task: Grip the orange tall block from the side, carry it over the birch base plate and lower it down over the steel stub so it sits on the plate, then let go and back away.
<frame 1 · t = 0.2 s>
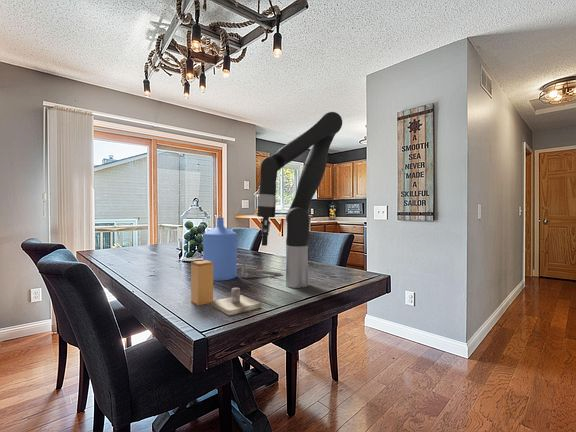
hand: (264, 244, 129), 18 cm above the table, tool pointing down, fingers open, 8 cm apart
water jug: (220, 277, 145), on the table
stub plate: (235, 306, 103), on the table
orange tall block: (202, 301, 108), on the table
caliper: (262, 277, 148), on the table
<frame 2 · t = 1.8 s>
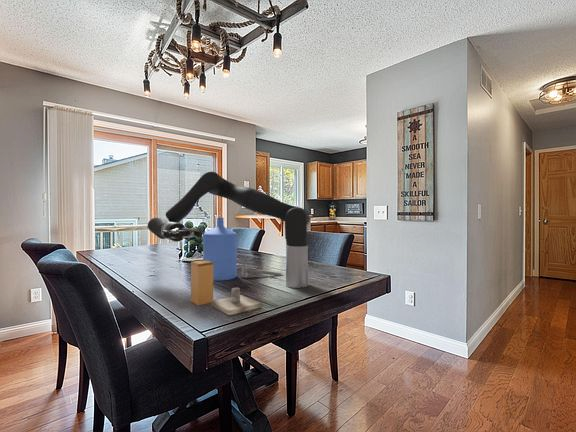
hand: (190, 235, 115), 23 cm above the table, tool horizontal, fingers open, 8 cm apart
nothing on the table moved.
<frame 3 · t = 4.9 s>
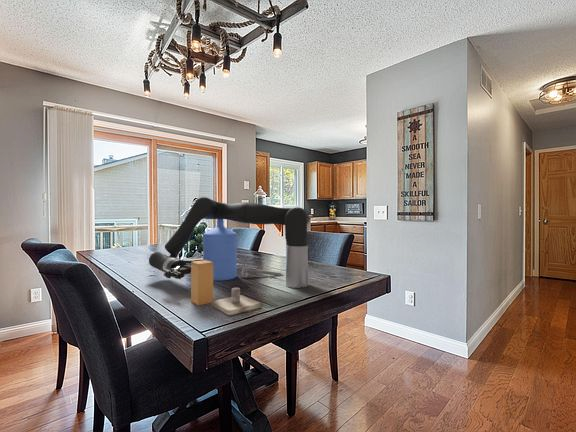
hand: (191, 274, 114), 8 cm above the table, tool horizontal, fingers open, 8 cm apart
nothing on the table moved.
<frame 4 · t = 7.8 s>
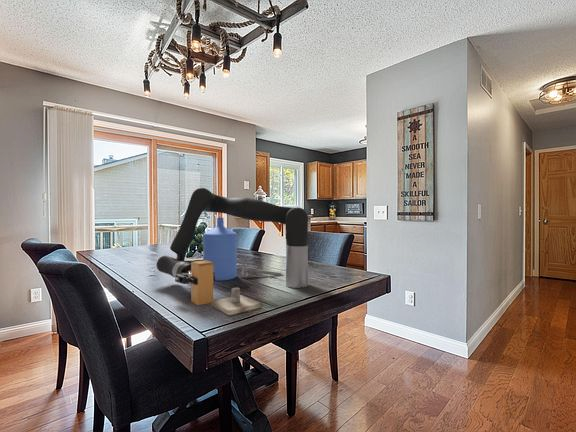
hand: (205, 280, 106), 8 cm above the table, tool horizontal, fingers closed on orange tall block, 5 cm apart
orange tall block: (202, 301, 108), on the table, touching gripper
everything else where it was.
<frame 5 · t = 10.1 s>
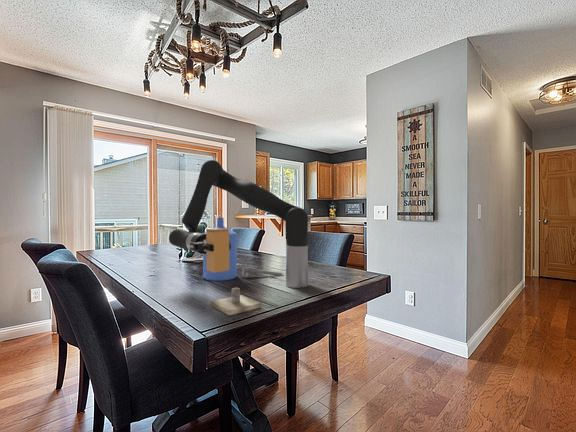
hand: (221, 247, 103), 20 cm above the table, tool horizontal, fingers closed on orange tall block, 5 cm apart
orange tall block: (217, 270, 105), point 12 cm above the table, touching gripper
everything else where it was.
when the fingers open (10 cm above the table, at t = 12.7 s): orange tall block stays where it is, resting on stub plate.
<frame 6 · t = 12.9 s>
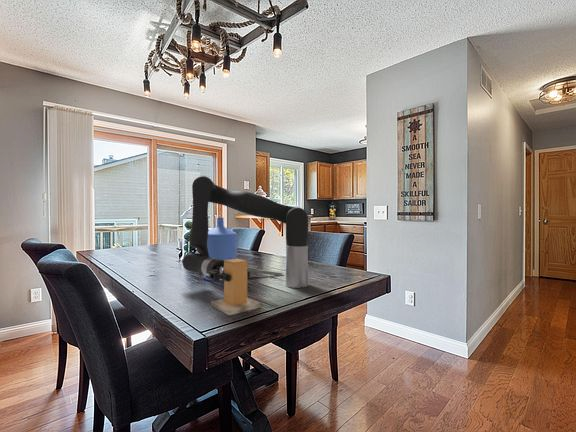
hand: (239, 276, 101), 10 cm above the table, tool horizontal, fingers open, 7 cm apart
orange tall block: (235, 302, 103), point 2 cm above the table, touching stub plate
everything else where it was.
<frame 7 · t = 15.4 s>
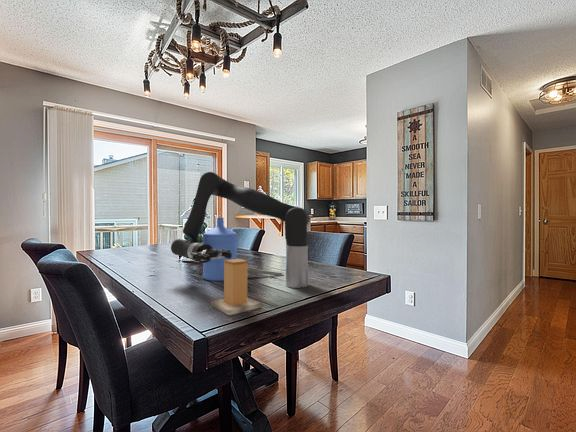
hand: (220, 256, 112), 15 cm above the table, tool horizontal, fingers open, 8 cm apart
nothing on the table moved.
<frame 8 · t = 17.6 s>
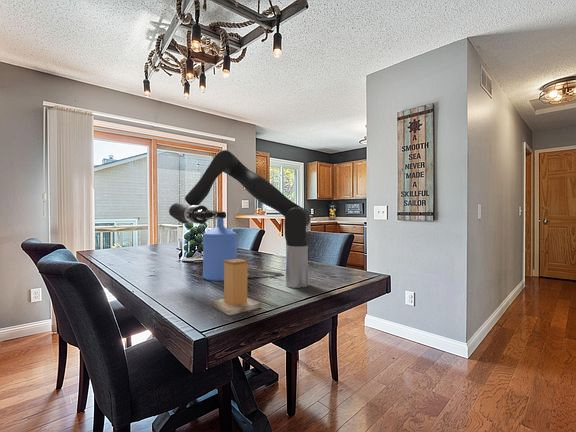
hand: (214, 215, 117), 30 cm above the table, tool horizontal, fingers open, 8 cm apart
nothing on the table moved.
at the end: orange tall block 0.0 cm from the stub plate (horizontally); orange tall block point 1.5 cm above the table; orange tall block tilted 0° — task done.
